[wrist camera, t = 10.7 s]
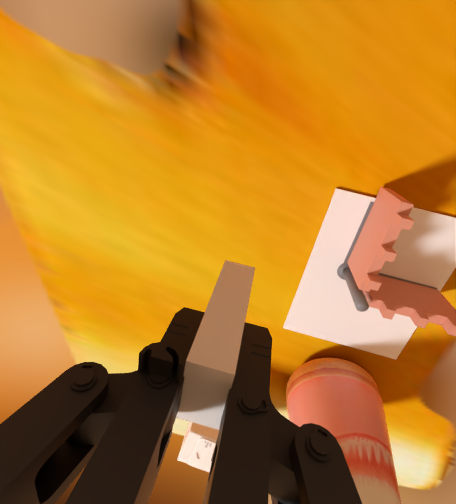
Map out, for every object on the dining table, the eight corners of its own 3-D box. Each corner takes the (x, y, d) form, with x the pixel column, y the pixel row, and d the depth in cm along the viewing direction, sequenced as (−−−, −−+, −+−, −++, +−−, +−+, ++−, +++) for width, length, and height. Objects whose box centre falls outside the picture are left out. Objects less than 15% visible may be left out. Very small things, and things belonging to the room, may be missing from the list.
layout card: (335, 187, 37) (336, 188, 36) (481, 223, 36) (483, 225, 35) (283, 326, 47) (283, 328, 47) (395, 357, 46) (396, 359, 46)
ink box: (234, 415, 58) (224, 480, 48) (194, 399, 58) (175, 462, 48) (249, 387, 54) (241, 452, 44) (206, 371, 54) (188, 432, 44)
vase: (393, 375, 47) (533, 703, 21) (337, 421, 54) (390, 716, 27) (318, 333, 47) (364, 621, 20) (270, 385, 53) (257, 654, 26)
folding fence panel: (355, 277, 41) (372, 314, 33) (358, 270, 40) (376, 306, 33) (433, 296, 40) (468, 339, 32) (437, 289, 40) (474, 331, 32)
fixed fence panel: (380, 186, 35) (407, 206, 28) (391, 189, 35) (422, 209, 28) (340, 274, 41) (354, 310, 33) (350, 277, 41) (366, 314, 33)
